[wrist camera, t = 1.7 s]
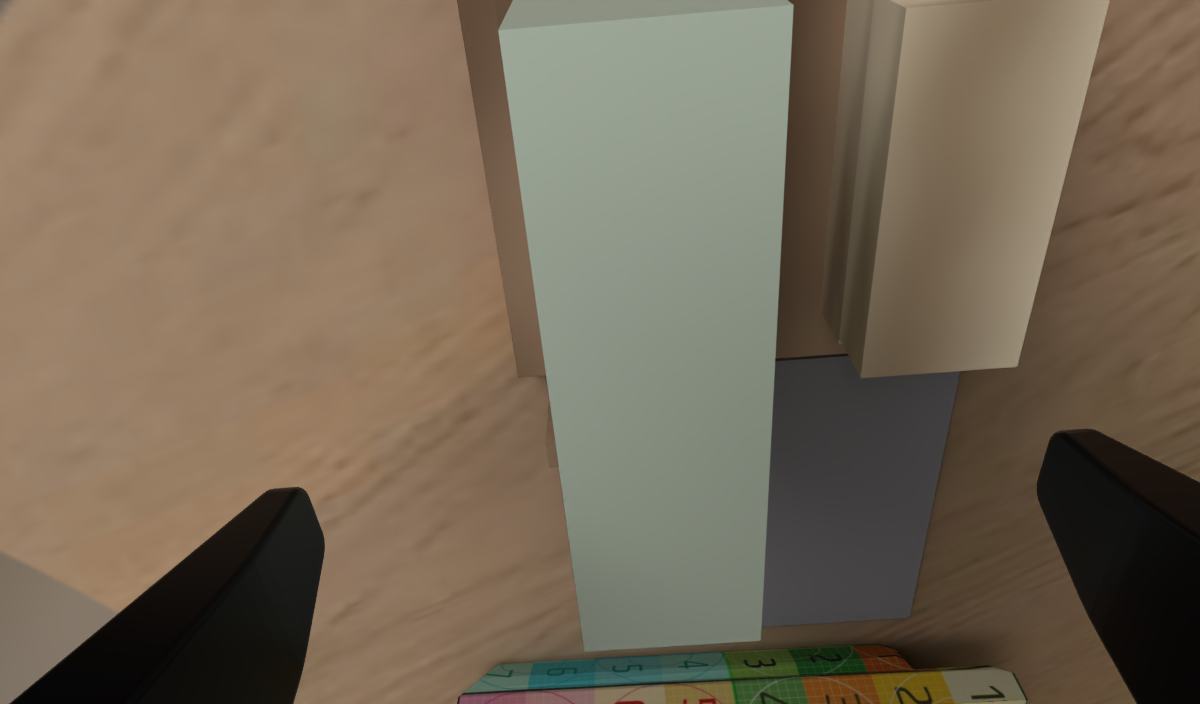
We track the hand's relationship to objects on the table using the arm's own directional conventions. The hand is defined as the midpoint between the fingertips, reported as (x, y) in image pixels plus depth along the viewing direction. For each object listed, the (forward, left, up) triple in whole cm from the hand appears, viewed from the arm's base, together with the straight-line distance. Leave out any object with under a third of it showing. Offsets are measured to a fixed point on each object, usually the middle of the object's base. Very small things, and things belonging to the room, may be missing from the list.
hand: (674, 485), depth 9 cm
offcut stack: (-7, 0, -11) cm, 13 cm away
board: (0, 0, -11) cm, 11 cm away
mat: (-4, +12, -12) cm, 18 cm away
